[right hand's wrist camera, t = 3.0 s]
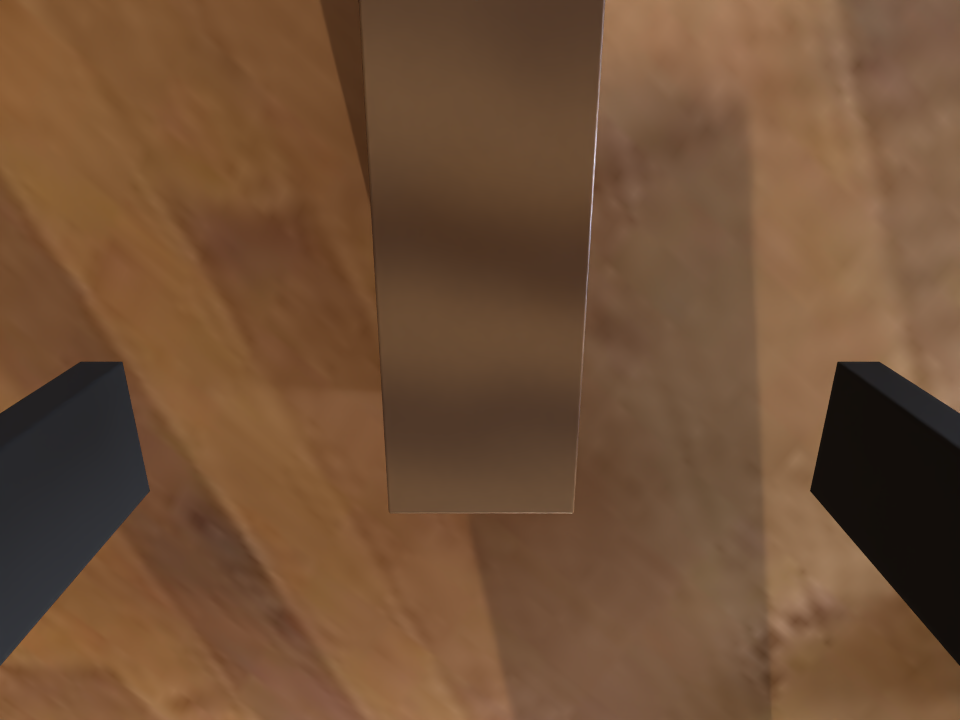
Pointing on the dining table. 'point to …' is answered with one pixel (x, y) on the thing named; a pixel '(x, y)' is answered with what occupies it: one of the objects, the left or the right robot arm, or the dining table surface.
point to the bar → (481, 244)
